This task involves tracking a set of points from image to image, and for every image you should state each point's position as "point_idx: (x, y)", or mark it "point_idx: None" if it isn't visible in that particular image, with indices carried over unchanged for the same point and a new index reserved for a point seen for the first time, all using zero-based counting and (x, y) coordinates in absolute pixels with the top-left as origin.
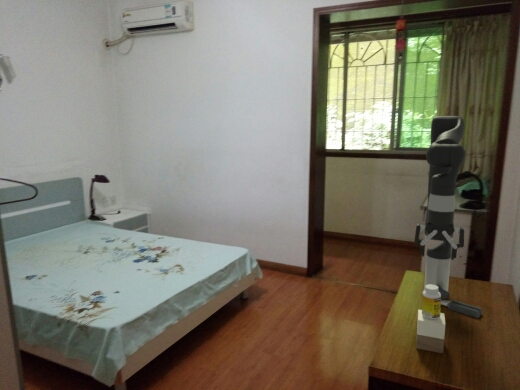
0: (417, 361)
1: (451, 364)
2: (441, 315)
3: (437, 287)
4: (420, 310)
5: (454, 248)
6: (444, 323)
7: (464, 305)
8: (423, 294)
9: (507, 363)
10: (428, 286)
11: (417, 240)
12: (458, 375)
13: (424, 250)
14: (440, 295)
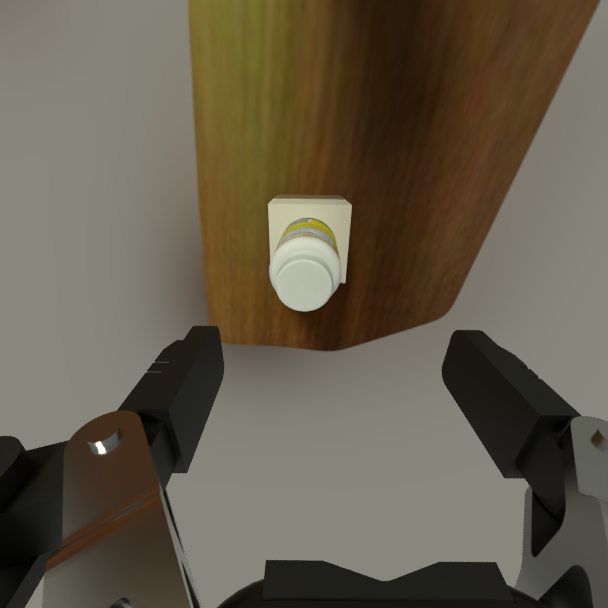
0: (284, 304)
1: (348, 292)
2: (341, 225)
3: (328, 289)
4: (275, 210)
5: (534, 490)
6: (343, 276)
7: None
8: (274, 288)
9: (466, 247)
10: (289, 287)
11: (35, 562)
12: (355, 321)
13: (203, 422)
14: (338, 284)
